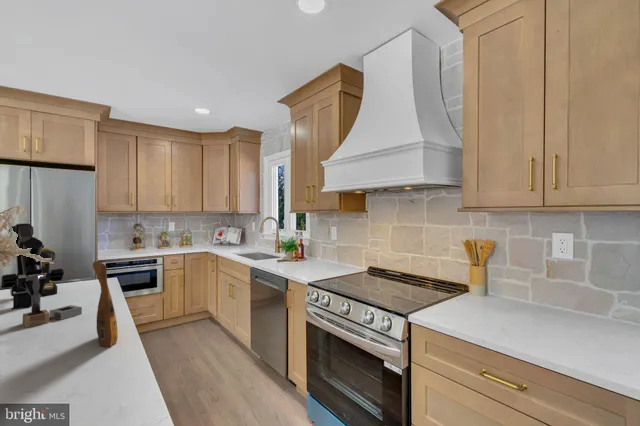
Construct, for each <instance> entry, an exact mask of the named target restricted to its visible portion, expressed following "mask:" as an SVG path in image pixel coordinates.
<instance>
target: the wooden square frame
mask: <svg viewBox="0 0 640 426" xmlns="http://www.w3.org/2000/svg"><path fill="white" fill-rule="evenodd" d="M49 323H50V317H49V311H48V310H47V309H40V312H39V313H32V311H31V312H25V313H22V325H23V326H24V328H31V327H35V326H40V325H41V326H42V325H43V324H49Z"/></svg>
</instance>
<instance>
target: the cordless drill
mask: <svg viewBox="0 0 640 426" xmlns="http://www.w3.org/2000/svg"><path fill="white" fill-rule="evenodd" d="M40 256H41V257H43V258H52V261H51V262H53V261H54V260H55V259H56V253H55V252H54V251H53V250H52V249H50V248H48V247H46V248H45V247H44V248H42V250H41V254H40ZM51 262H50V263H49V262H42V261H41V268H42V273H50V272H51V269H50V266H51V265H50V264H51ZM40 281H41V280H40ZM57 294H58V286H57V284H56V281H53V282H52V281H50V282H49V283H47V284H45V286H44V289H43V292H42V294H40V297H45V296H46V297H47V296H53V295H57Z"/></svg>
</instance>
